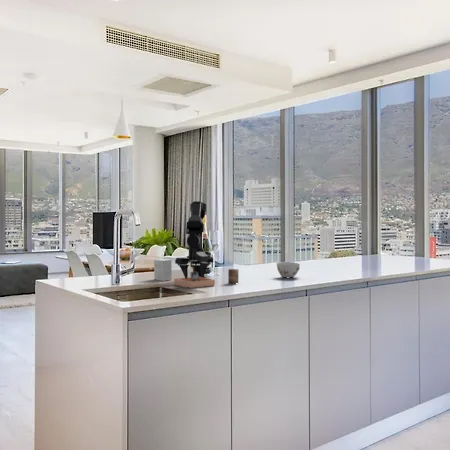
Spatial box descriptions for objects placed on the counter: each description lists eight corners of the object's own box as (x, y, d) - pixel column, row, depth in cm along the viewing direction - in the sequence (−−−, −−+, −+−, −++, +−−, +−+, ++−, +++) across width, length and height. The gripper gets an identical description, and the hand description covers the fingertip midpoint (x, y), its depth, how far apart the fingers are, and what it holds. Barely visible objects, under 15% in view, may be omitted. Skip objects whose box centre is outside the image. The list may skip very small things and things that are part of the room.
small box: (171, 280, 267) (171, 259, 266) (162, 281, 263) (162, 260, 263) (162, 278, 273) (163, 258, 272) (153, 279, 269) (154, 259, 269)
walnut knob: (226, 283, 257) (226, 269, 257) (234, 282, 260) (234, 268, 260) (232, 284, 253) (232, 270, 253) (240, 283, 256) (240, 269, 256)
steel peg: (188, 284, 249) (188, 271, 249) (195, 283, 251) (195, 271, 251) (193, 285, 246) (193, 272, 246) (200, 284, 248) (200, 272, 248)
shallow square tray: (174, 284, 250) (174, 278, 250) (198, 282, 258) (198, 276, 258) (190, 288, 239) (190, 282, 239) (214, 286, 247) (214, 279, 247)
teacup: (287, 279, 273) (287, 264, 272) (271, 277, 283) (271, 262, 282) (307, 277, 281) (307, 263, 281) (291, 275, 292) (291, 261, 291)
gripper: (187, 247, 236) (187, 281, 236) (220, 246, 247) (220, 278, 248) (174, 246, 245) (174, 278, 245) (206, 244, 256) (206, 276, 257)
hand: (194, 278), depth 249 cm, fingers open, 9 cm apart
